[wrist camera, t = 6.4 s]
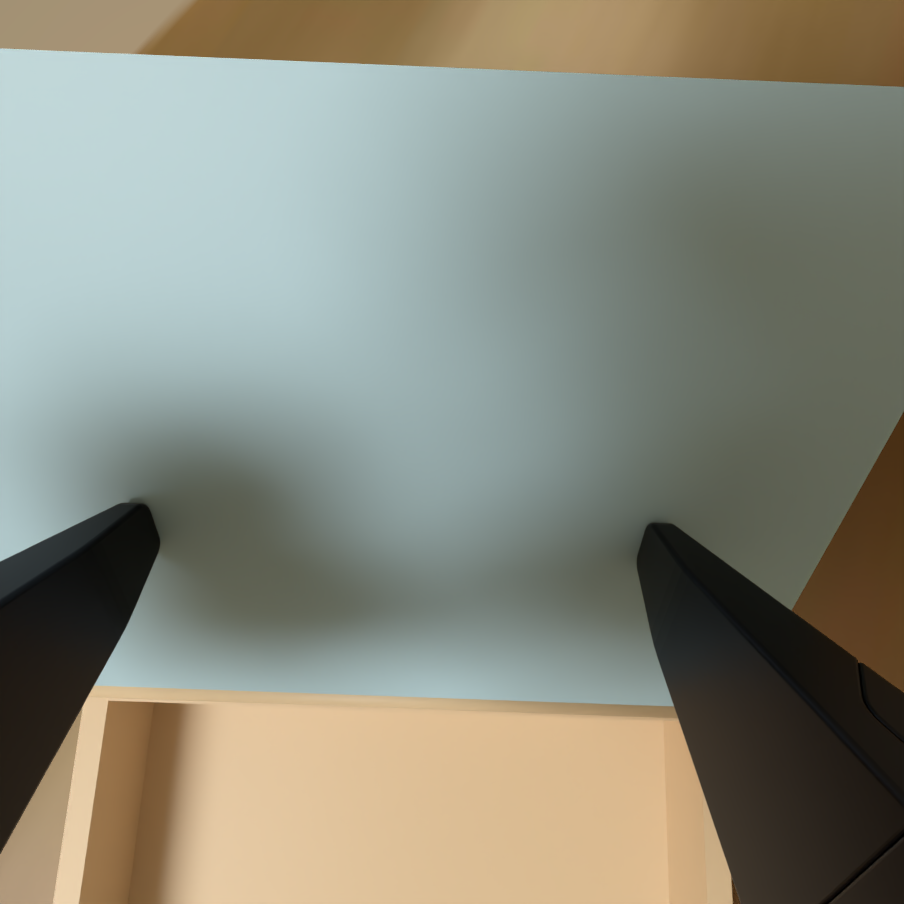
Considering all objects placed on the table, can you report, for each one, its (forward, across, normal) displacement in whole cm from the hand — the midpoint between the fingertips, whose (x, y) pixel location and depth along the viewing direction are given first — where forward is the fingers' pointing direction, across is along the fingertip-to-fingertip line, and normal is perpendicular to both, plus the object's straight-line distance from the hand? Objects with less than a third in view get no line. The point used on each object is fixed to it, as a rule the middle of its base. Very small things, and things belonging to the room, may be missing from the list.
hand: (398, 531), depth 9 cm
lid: (0, 0, -1) cm, 1 cm away
